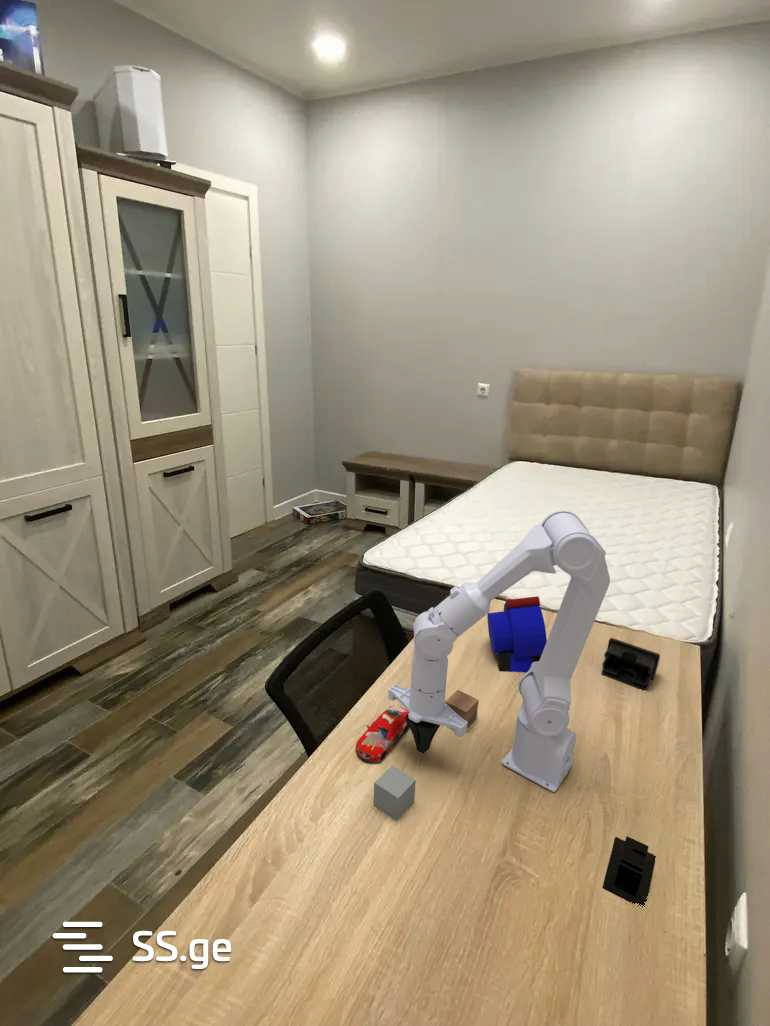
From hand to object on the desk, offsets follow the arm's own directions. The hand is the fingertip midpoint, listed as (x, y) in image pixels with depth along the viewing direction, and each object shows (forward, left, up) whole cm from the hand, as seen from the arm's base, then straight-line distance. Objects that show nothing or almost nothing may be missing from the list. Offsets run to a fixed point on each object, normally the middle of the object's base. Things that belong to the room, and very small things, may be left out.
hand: (423, 749), depth 96 cm
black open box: (-34, -1, -2) cm, 34 cm away
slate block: (-2, +11, -2) cm, 11 cm away
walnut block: (0, -12, -2) cm, 12 cm away
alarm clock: (+2, -38, -2) cm, 38 cm away
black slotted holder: (-20, -48, -2) cm, 52 cm away
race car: (+8, +1, -2) cm, 8 cm away
